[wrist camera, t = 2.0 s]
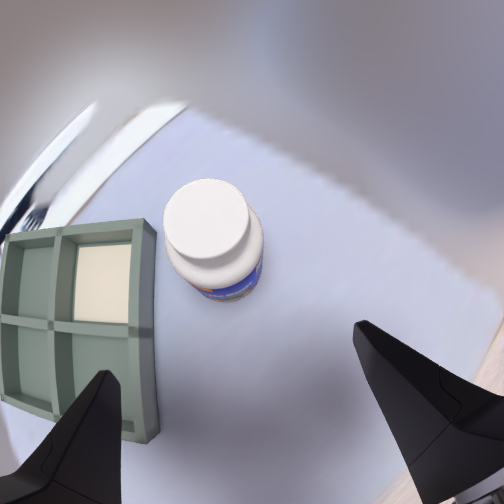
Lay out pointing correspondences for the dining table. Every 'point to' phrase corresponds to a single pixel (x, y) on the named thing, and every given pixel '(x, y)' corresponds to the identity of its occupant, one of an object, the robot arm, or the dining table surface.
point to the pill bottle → (214, 239)
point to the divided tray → (80, 319)
